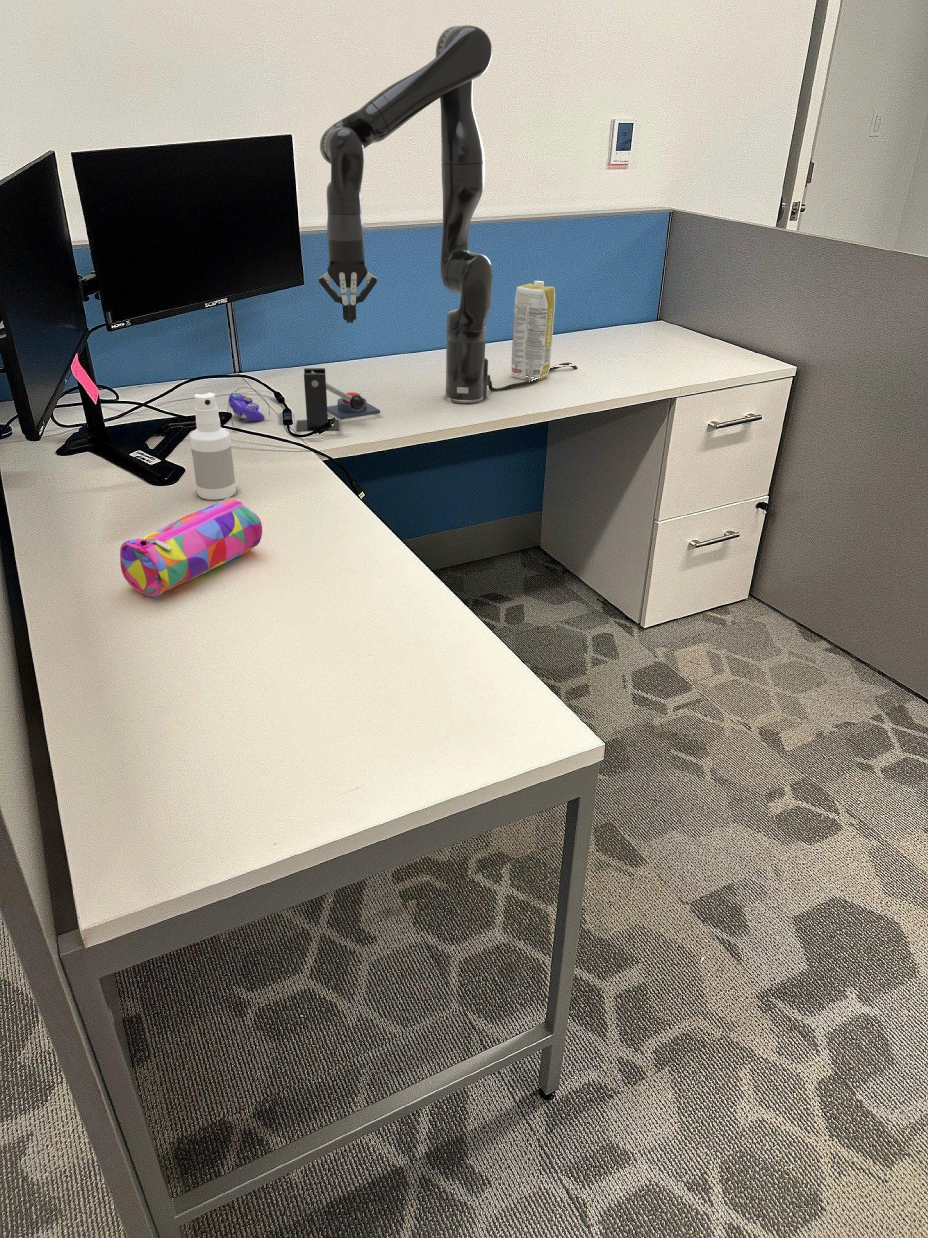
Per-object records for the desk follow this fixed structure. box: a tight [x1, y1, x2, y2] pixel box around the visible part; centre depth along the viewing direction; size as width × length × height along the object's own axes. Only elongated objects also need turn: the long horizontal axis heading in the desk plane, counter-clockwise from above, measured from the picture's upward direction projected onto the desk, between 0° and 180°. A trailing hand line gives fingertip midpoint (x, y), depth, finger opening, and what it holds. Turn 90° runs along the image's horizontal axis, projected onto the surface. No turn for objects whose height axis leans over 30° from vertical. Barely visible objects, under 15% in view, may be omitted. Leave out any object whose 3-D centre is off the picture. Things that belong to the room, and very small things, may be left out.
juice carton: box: [510, 280, 556, 382], centre depth 224 cm, size 9×8×24 cm
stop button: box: [344, 391, 361, 403], centre depth 196 cm, size 4×4×2 cm
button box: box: [327, 397, 381, 421], centre depth 197 cm, size 10×8×4 cm
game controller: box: [221, 386, 271, 428], centre depth 191 cm, size 10×8×10 cm
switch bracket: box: [295, 367, 340, 433], centre depth 185 cm, size 9×7×13 cm
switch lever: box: [311, 371, 365, 411], centre depth 185 cm, size 13×3×3 cm
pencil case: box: [119, 497, 263, 598], centre depth 129 cm, size 22×9×9 cm, turn 148°
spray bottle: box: [189, 392, 237, 501], centre depth 153 cm, size 7×7×18 cm
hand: (350, 321), depth 190 cm, fingers closed
